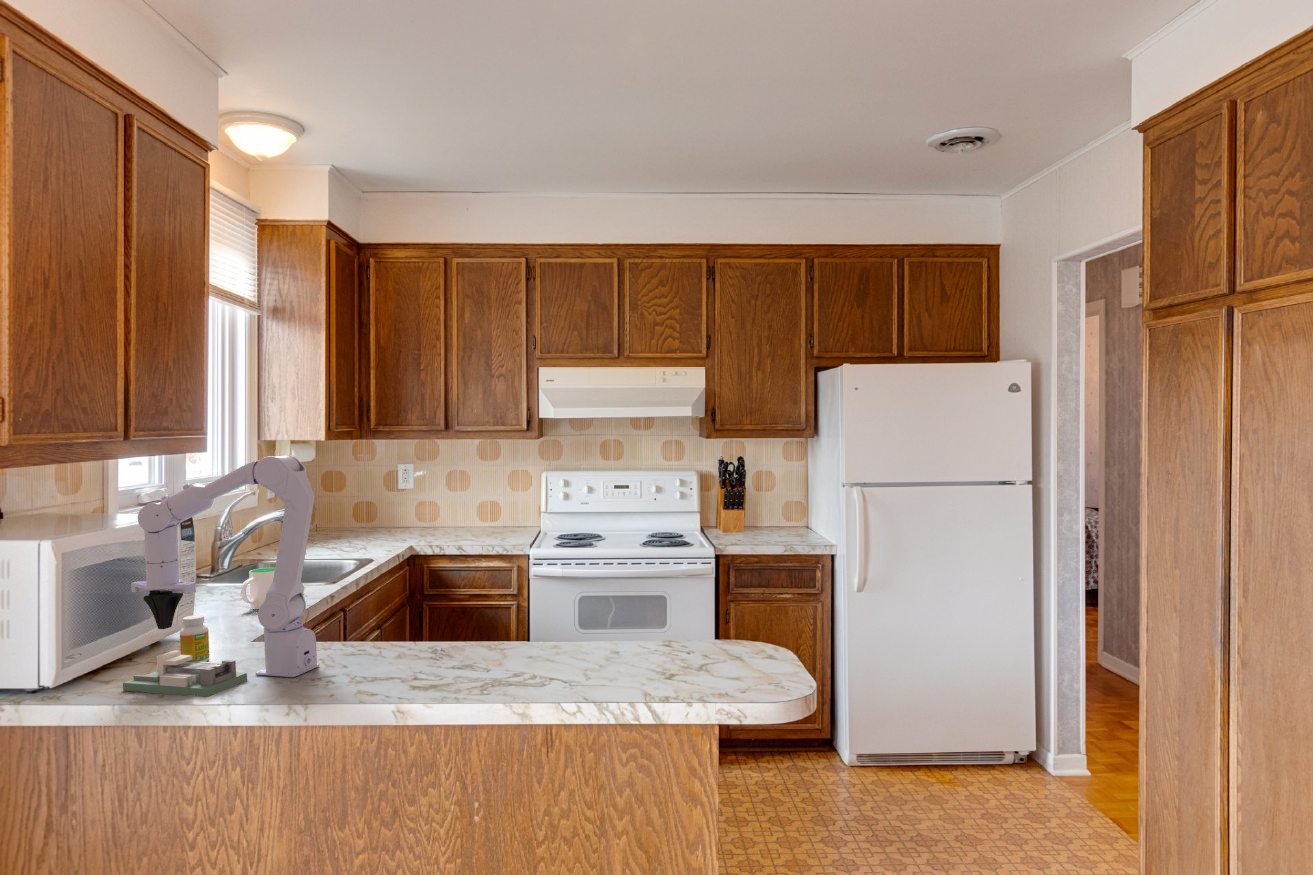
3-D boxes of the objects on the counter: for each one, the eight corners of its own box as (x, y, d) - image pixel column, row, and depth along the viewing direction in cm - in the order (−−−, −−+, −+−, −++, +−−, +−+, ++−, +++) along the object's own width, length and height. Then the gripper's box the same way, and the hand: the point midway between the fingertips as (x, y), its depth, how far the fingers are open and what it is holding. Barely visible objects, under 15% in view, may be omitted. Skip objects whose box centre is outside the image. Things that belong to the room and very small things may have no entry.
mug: (256, 613, 224) (255, 575, 224) (232, 612, 227) (231, 574, 226) (288, 604, 236) (286, 567, 236) (265, 603, 238) (263, 567, 238)
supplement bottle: (196, 665, 175) (195, 620, 174) (174, 665, 176) (173, 619, 176) (215, 658, 180) (213, 614, 180) (193, 658, 181) (192, 614, 181)
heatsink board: (247, 680, 163) (246, 657, 163) (206, 697, 153) (205, 673, 153) (167, 674, 169) (166, 652, 169) (123, 690, 159) (122, 667, 159)
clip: (192, 674, 163) (192, 651, 163) (175, 680, 159) (174, 657, 159) (174, 672, 164) (173, 650, 164) (157, 679, 160) (156, 656, 160)
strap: (229, 671, 160) (229, 662, 160) (214, 677, 157) (214, 668, 157) (180, 669, 164) (180, 660, 163) (165, 674, 160) (165, 665, 160)
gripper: (206, 558, 169) (209, 624, 169) (151, 557, 173) (153, 621, 173) (177, 564, 162) (180, 633, 162) (120, 563, 166) (123, 630, 166)
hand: (164, 628), depth 167 cm, fingers closed
